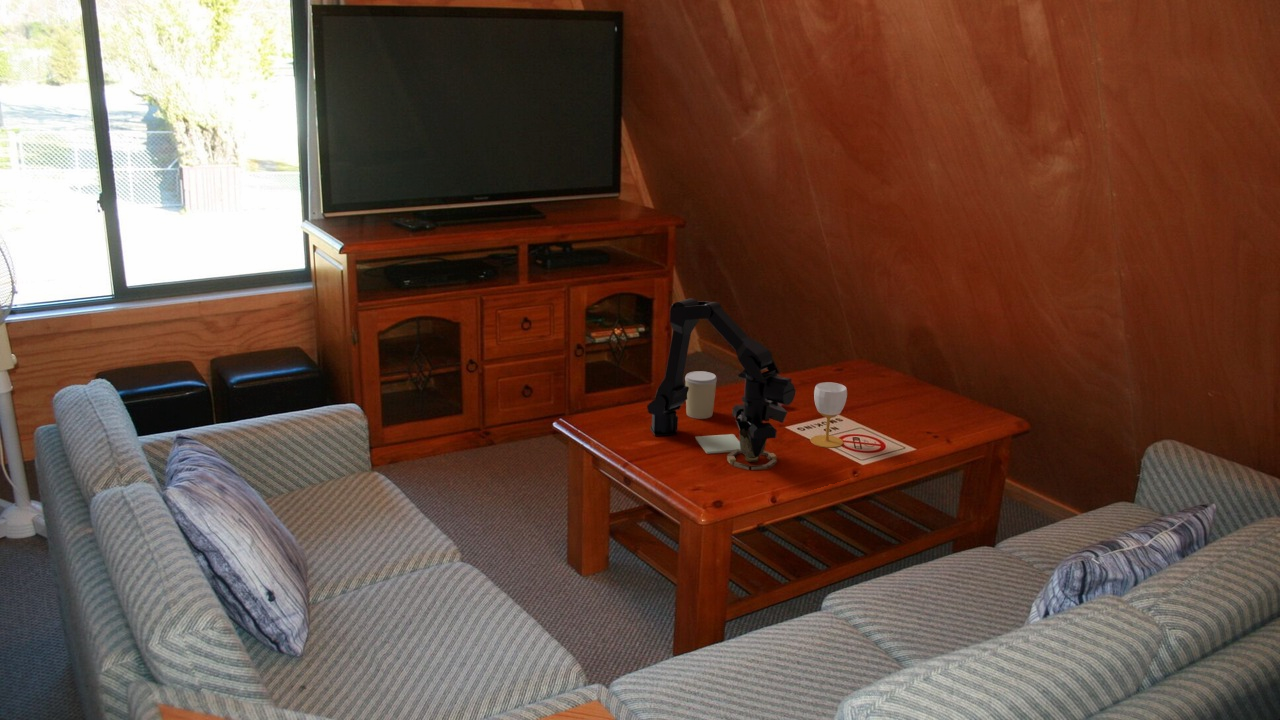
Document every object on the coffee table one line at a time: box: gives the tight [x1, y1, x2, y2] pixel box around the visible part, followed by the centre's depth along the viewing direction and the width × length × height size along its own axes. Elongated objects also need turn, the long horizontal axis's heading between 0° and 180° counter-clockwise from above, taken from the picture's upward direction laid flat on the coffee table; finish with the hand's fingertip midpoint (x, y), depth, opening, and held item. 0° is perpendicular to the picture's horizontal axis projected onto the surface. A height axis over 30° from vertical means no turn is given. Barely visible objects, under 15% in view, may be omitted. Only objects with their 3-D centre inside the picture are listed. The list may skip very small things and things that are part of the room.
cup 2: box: [810, 381, 848, 449], centre depth 288 cm, size 9×9×16 cm
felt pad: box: [695, 433, 741, 454], centre depth 287 cm, size 11×11×1 cm
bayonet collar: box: [726, 449, 778, 471], centre depth 276 cm, size 13×12×1 cm
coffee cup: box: [684, 370, 718, 420], centre depth 307 cm, size 9×9×12 cm
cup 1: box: [738, 427, 768, 463], centre depth 275 cm, size 8×7×8 cm
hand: (752, 451), depth 276 cm, fingers closed on cup 1, 7 cm apart
